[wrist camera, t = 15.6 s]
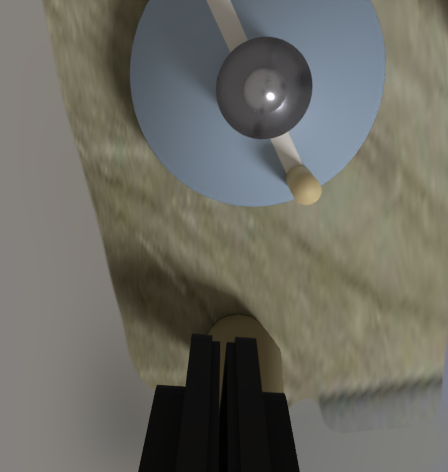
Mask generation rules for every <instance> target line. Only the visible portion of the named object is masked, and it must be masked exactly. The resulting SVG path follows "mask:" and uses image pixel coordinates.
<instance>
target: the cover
mask: <svg viewBox="0 0 448 472" xmlns="http://www.w3.org/2000/svg"><path fill="white" fill-rule="evenodd" d="M312 88H313V84H312V76H311V71H310V68H309V66H308V63H307V61H306V60H305V58H304V56H303V55H302V54H301V53H300V51H299V50H298V49H297V48H295V47H294V46H293V45H292V44H290V43H288V42H287V41H284V40H282V39H279V38H275V37H257V38H253V39H250V40H248V41H246V42H244V43H242V44H240V45H239V46H237V47H236V48H235V49H234V50H233V51H232V52H231V53H230V54H229V55H228V56H227V58H226V59H225V61H224V62H223V64H222V66H221V68H220V71H219V74H218V77H217V83H216V97H217V103H218V106H219V109H220V111H221V114H222V115H223V117H224V119H225V120H226V121H227V123H228V124H229V125H230V126H231V127H232V128H233V129H234V130H236V131H237V132H239V133H240V134H242V135H244V136H247V137H250V138H254V139H271V138H275V137H278V136H281V135H283V134H285V133H287V132H288V131H290V130H291V129H292V128H294V127H295V126H296V125H297V124H298V123H299V122H300V120H301V119H302V118H303V116H304V115H305V113H306V111H307V109H308V107H309V104H310V101H311V96H312Z"/></svg>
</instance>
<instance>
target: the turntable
mask: <svg viewBox="0 0 448 472" xmlns="http://www.w3.org/2000/svg"><path fill="white" fill-rule="evenodd" d="M257 37H275V38H279V39H282V40H284V41H287V42H288V43H290V44H292V45H293V46H294V47H295V48H297V49H298V50H299V51H300V53H301V54H302V55H303V56H304V58H305V60H306V61H307V63H308V66H309V68H310V71H311V76H312V84H313V88H312V96H311V101H310V104H309V107H308V109H307V111H306V113H305V115H304V116H303V118H302V119H301V120H300V122H299V123H298V124H297V125H296V126H295V127H294V128H292V129H291V130H290V131H288V132H287V133H285V134H283V135H281V136H278V137H275V138H271V139H254V138H250V137H247V136H244V135H242V134H240V133H239V132H237V131H236V130H234V129H233V128H232V127H231V126H230V125H229V124H228V123H227V121H226V120H225V119H224V117H223V115H222V114H221V111H220V109H219V106H218V103H217V97H216V83H217V77H218V74H219V71H220V68H221V66H222V64H223V62H224V61H225V59H226V58H227V56H228V55H229V54H230V53H231V52H232V51H233V50H234V49H235V48H236V47H237V46H239V45H240V44H242V43H244V42H246V41H248V40H250V39H253V38H257ZM384 81H385V49H384V40H383V35H382V31H381V27H380V23H379V20H378V17H377V15H376V12H375V9H374V7H373V4H372V2H371V0H149V2H148V4H147V5H146V7H145V9H144V12H143V14H142V16H141V19H140V21H139V24H138V26H137V30H136V34H135V37H134V41H133V46H132V53H131V60H130V86H131V95H132V101H133V105H134V110H135V114H136V117H137V120H138V122H139V125H140V128H141V131H142V133H143V135H144V137H145V139H146V141H147V143H148V144H149V146H150V148H151V149H152V151H153V152H154V154H155V155H156V157H157V158H158V159H159V160H160V162H161V163H162V164H163V165H164V166H165V167H166V169H167V170H168V171H169V172H170V173H172V174H173V175H174V176H175V177H176V178H177V179H178V180H179V181H181V182H182V183H184V184H185V185H187V186H188V187H189V188H191V189H192V190H194V191H196V192H198V193H200V194H202V195H204V196H206V197H209V198H211V199H214V200H217V201H219V202H224V203H228V204H232V205H239V206H268V205H275V204H280V203H283V202H287V201H291V200H294V199H295V200H296V201H297V202H298V203H300V204H302V205H310V204H313V203H314V202H316V201H317V200H318V199H319V197H320V195H321V192H322V188H321V186H322V185H323V184H325V183H326V182H327V181H329V180H330V179H332V178H333V177H334V176H335V175H336V174H337V173H338V172H339V171H341V170H342V169H343V168H344V167H345V166H346V164H347V163H348V162H349V161H350V160H351V159H352V158H353V156H354V155H355V154H356V152H357V151H358V150H359V148H360V147H361V145H362V144H363V142H364V141H365V139H366V137H367V135H368V133H369V131H370V129H371V127H372V125H373V123H374V120H375V118H376V115H377V112H378V110H379V106H380V102H381V98H382V94H383V88H384Z"/></svg>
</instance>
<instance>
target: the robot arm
mask: <svg viewBox="0 0 448 472" xmlns="http://www.w3.org/2000/svg"><path fill="white" fill-rule="evenodd" d="M219 398H220V341H212V335H204V334H192V337H191V346H190V354H189V362H188V370H187V379H186V387H182V386H167V385H157V387H156V390H155V395H154V399H153V404H152V409H151V414H150V418H149V423H148V428H147V433H146V437H145V442H144V447H143V452H142V456H141V461H140V466H139V471H138V472H300V471H299V465H298V460H297V454H296V449H295V443H294V438H293V432H292V428H291V421H290V416H289V410H288V405H287V400H286V396H285V394H284V393H276V392H262V384H261V375H260V366H259V357H258V349H257V341H256V338H248V337H235V340H234V342H227V343H226V352H225V361H224V371H223V380H222V390H221V399H220V409H219Z"/></svg>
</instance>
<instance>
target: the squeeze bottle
mask: <svg viewBox="0 0 448 472" xmlns="http://www.w3.org/2000/svg"><path fill="white" fill-rule="evenodd" d="M207 335H212V341H220V398H219V409H220V399H221V390H222V380H223V371H224V361H225V352H226V343H227V342H234V340H235V337H248V338H256V341H257V349H258V357H259V366H260V375H261V384H262V392H276V393H284V389H283V370H282V358H281V351H280V349H279V347H278V346H277V344H276V343H275V342H274V340H273V339H272V337H271V336H270V335H269V334H268V332H267V331H266V330H265V328H264V327H263V326H262V325H261V323H260V322H258V321H257V320H255V319H253V318H252V317H250V316H245V315H240V314H238V315H231V316H226V317H225V318H223V319H221V320H219V321H217V322H216V324H215V325H214V326H213V327H212V328H211V330H210V331H209V333H208V334H207Z"/></svg>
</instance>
